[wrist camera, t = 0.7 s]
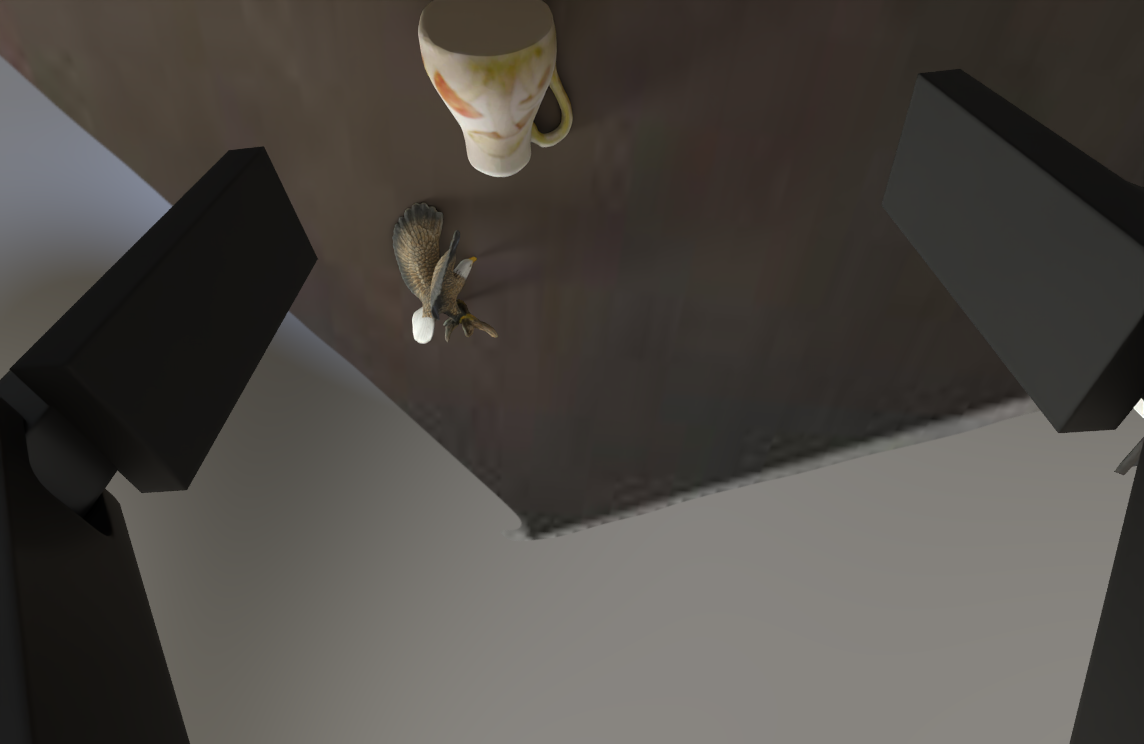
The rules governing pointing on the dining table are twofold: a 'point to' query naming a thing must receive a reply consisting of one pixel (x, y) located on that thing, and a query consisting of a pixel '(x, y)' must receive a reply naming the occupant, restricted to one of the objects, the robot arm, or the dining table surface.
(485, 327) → the eagle figurine
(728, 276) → the dining table surface
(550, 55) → the mug
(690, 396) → the dining table surface
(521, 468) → the dining table surface
